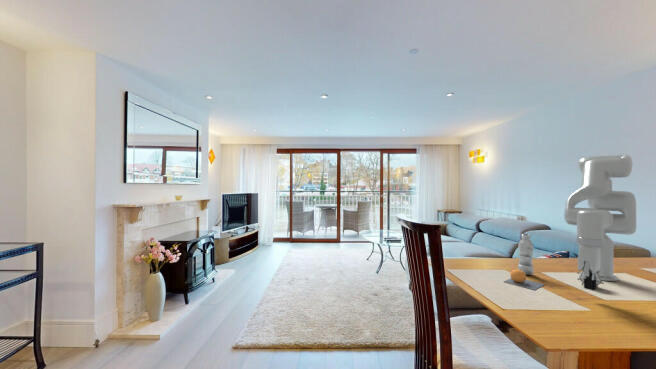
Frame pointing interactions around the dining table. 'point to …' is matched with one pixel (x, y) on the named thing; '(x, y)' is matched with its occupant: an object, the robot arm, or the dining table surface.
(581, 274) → the grey spiky ball
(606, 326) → the dining table surface
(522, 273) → the ball
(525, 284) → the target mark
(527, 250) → the plastic bottle
